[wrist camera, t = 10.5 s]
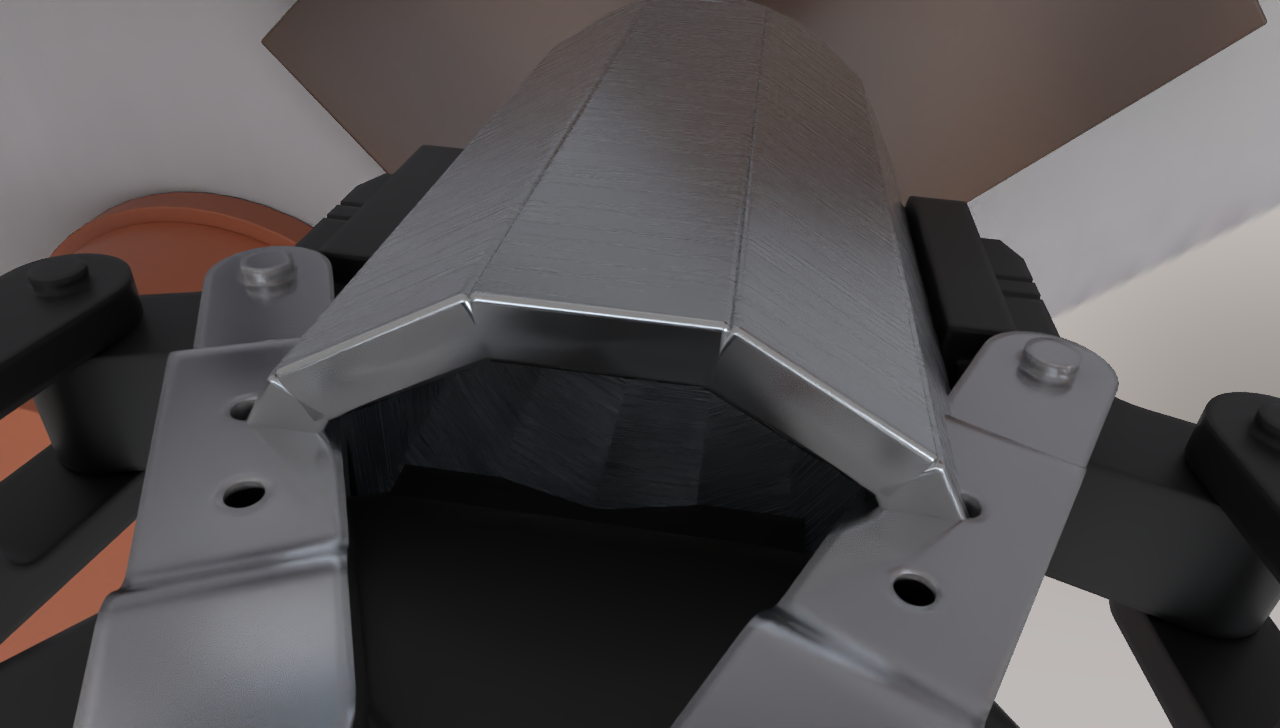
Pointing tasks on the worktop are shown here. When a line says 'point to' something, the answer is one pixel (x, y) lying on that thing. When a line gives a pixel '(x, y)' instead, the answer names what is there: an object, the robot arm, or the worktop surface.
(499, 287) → the steel cup
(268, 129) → the worktop surface
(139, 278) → the terracotta flower pot
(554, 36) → the board
